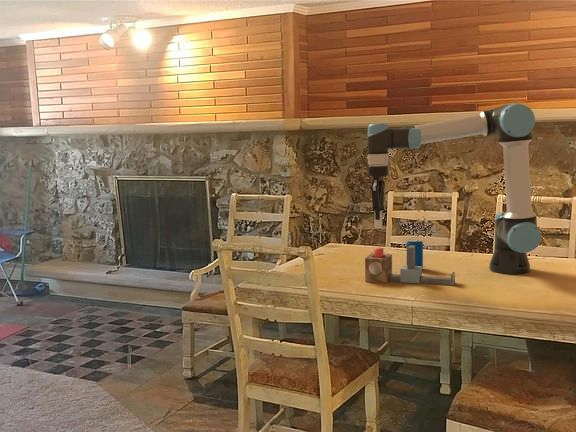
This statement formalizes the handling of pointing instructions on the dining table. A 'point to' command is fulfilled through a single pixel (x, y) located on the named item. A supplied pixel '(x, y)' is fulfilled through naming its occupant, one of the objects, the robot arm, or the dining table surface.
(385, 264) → the brown button box
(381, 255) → the gauge button
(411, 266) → the carriage
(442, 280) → the rail
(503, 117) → the robot arm
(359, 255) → the dining table surface
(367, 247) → the dining table surface
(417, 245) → the beverage can
